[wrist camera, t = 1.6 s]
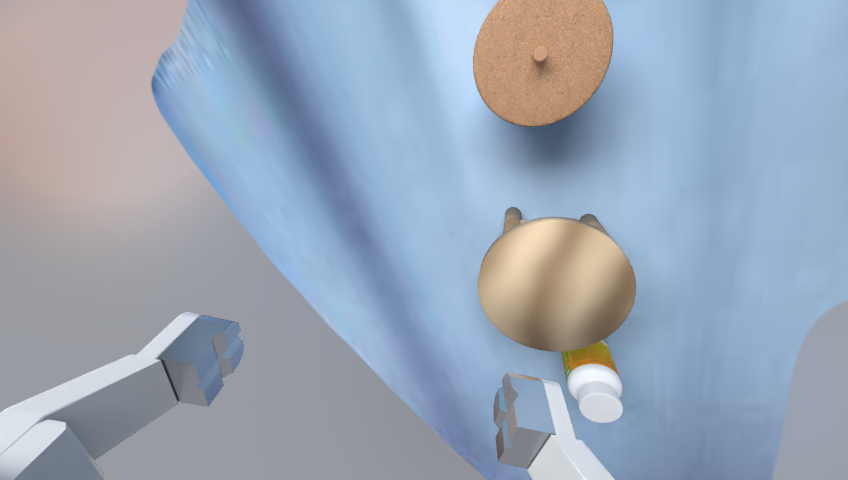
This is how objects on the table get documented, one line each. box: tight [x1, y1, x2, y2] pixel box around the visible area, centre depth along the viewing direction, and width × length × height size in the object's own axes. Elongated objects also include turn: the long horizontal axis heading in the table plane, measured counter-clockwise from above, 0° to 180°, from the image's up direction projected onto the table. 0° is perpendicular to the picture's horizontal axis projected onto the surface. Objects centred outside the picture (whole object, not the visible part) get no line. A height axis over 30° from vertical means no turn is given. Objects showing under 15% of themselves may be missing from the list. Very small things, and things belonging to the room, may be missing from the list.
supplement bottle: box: [561, 339, 623, 423], centre depth 39 cm, size 6×6×10 cm
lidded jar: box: [473, 0, 613, 127], centre depth 29 cm, size 11×11×9 cm
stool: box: [478, 207, 636, 351], centre depth 35 cm, size 14×14×10 cm
